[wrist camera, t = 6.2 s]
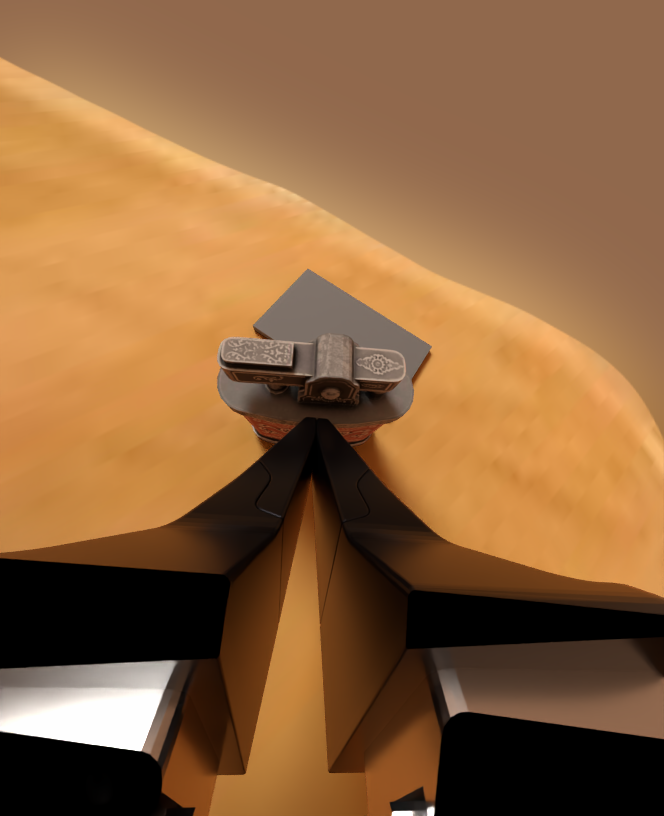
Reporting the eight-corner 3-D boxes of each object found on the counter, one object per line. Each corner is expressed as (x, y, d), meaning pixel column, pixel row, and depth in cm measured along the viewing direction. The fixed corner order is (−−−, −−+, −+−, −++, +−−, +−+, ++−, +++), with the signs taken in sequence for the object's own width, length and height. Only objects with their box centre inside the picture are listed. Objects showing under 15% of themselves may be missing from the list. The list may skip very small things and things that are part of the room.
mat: (386, 417, 18) (388, 416, 17) (254, 329, 19) (252, 325, 18) (428, 349, 20) (431, 346, 20) (307, 273, 21) (307, 268, 21)
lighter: (369, 405, 18) (441, 319, 9) (370, 452, 17) (452, 412, 8) (257, 398, 17) (199, 295, 8) (251, 446, 16) (176, 395, 7)
